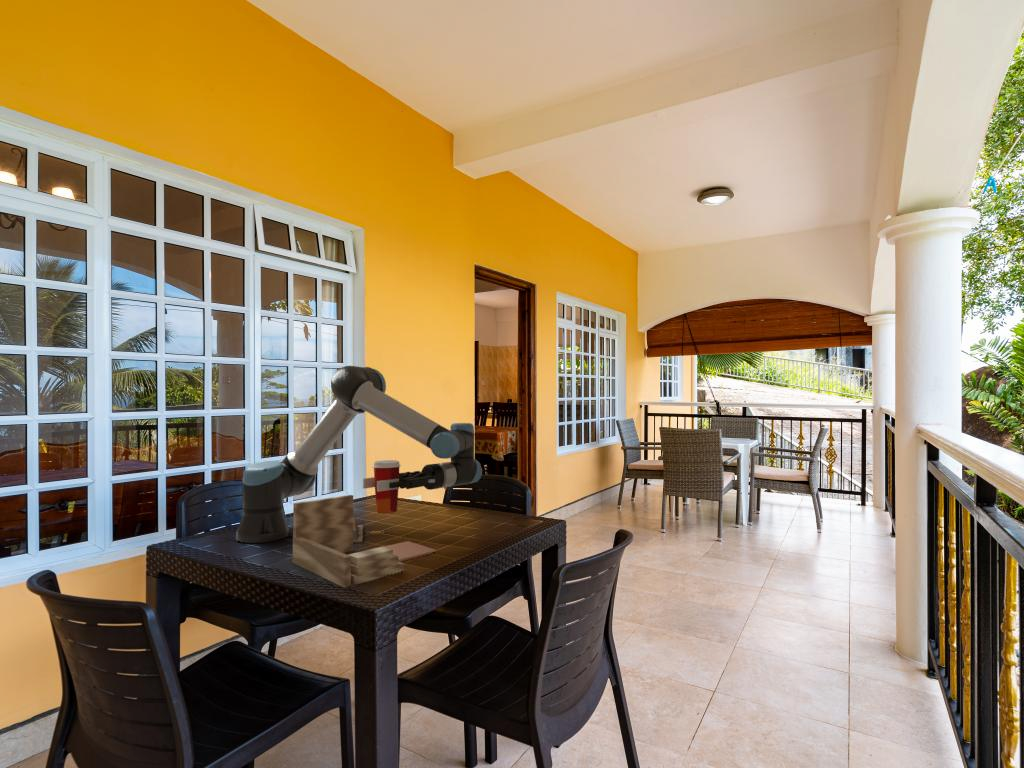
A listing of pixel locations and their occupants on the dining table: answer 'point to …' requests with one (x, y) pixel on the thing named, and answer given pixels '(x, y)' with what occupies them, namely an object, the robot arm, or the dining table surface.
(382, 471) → the paper cup
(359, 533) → the packaged product
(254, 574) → the dining table surface
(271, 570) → the dining table surface
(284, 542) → the dining table surface
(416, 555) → the terracotta mat
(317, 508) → the oak rack
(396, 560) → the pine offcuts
